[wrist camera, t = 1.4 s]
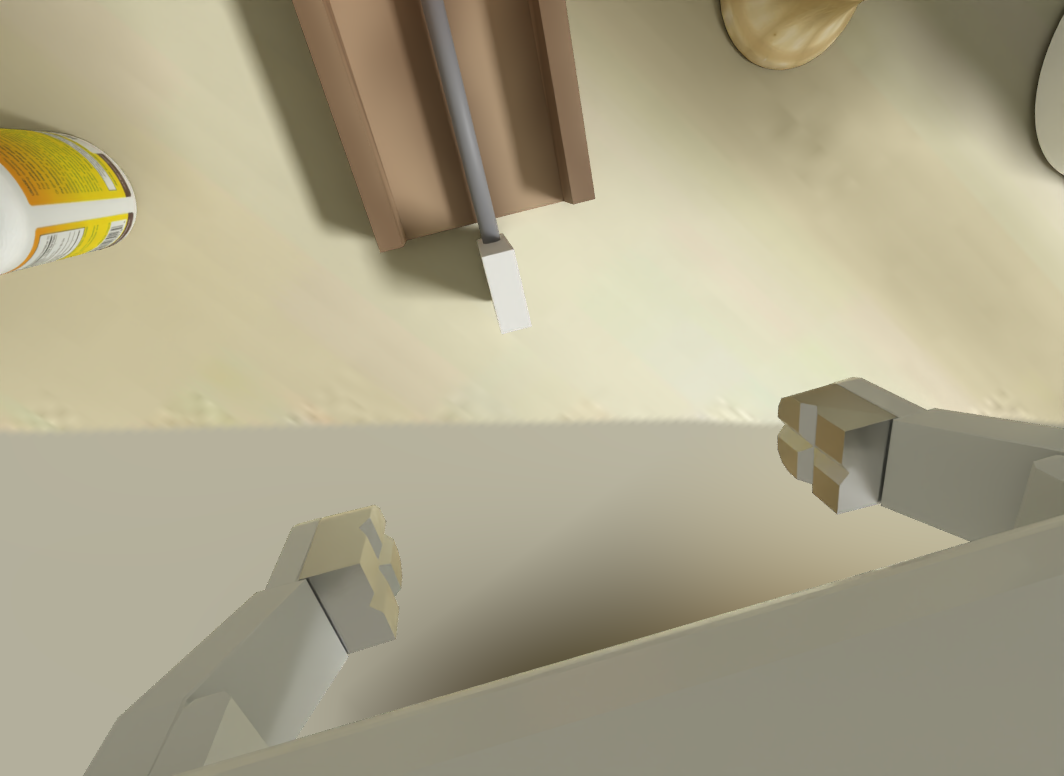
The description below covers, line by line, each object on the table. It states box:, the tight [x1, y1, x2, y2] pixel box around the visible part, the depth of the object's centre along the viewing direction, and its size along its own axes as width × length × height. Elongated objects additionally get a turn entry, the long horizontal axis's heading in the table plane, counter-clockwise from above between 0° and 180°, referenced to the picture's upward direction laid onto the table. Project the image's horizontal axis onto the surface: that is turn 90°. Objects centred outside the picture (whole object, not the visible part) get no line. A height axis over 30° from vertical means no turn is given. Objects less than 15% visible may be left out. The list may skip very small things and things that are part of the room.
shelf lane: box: [292, 0, 595, 253], centre depth 23 cm, size 12×20×4 cm, turn 12°
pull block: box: [421, 0, 532, 334], centre depth 23 cm, size 8×24×6 cm, turn 12°
